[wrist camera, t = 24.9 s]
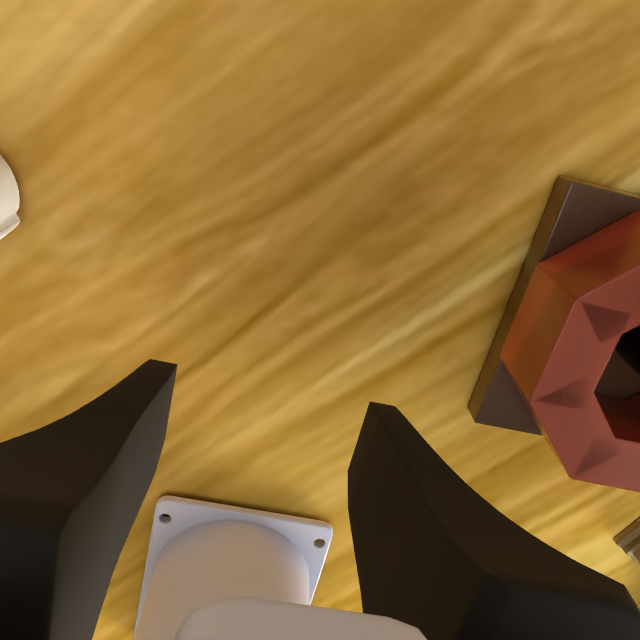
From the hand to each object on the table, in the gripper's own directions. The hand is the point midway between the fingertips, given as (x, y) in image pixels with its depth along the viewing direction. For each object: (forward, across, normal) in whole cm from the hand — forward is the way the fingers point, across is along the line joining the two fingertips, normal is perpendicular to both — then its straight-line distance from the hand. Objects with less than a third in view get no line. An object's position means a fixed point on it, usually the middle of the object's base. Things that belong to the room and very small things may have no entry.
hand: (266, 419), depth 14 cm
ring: (+9, -14, -1) cm, 16 cm away
